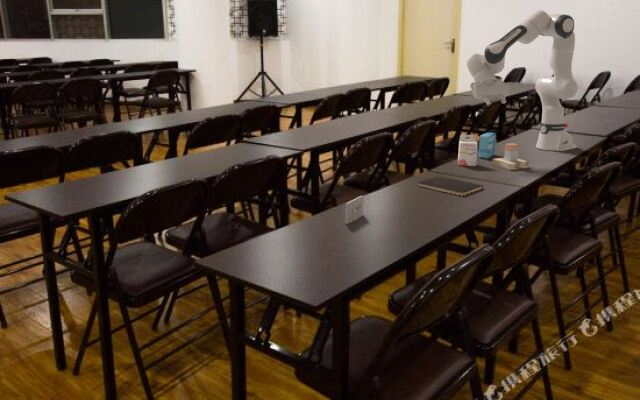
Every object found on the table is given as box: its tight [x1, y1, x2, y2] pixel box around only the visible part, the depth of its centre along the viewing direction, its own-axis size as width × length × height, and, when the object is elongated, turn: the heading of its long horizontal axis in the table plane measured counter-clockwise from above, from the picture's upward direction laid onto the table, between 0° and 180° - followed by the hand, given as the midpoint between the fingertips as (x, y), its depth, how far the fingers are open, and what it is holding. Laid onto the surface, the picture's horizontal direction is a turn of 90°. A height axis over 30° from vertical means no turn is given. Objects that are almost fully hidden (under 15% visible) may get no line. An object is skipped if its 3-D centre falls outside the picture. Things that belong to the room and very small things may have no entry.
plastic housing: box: [503, 142, 520, 162], centre depth 287 cm, size 5×4×8 cm
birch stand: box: [491, 157, 530, 171], centre depth 289 cm, size 12×12×3 cm
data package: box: [478, 132, 497, 160], centre depth 308 cm, size 12×4×12 cm, turn 144°
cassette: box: [344, 195, 364, 225], centre depth 215 cm, size 12×2×8 cm, turn 147°
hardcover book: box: [417, 175, 484, 197], centre depth 255 cm, size 16×23×2 cm
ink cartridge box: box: [457, 134, 479, 167], centre depth 291 cm, size 9×5×15 cm, turn 84°
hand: (497, 103), depth 293 cm, fingers open, 8 cm apart
